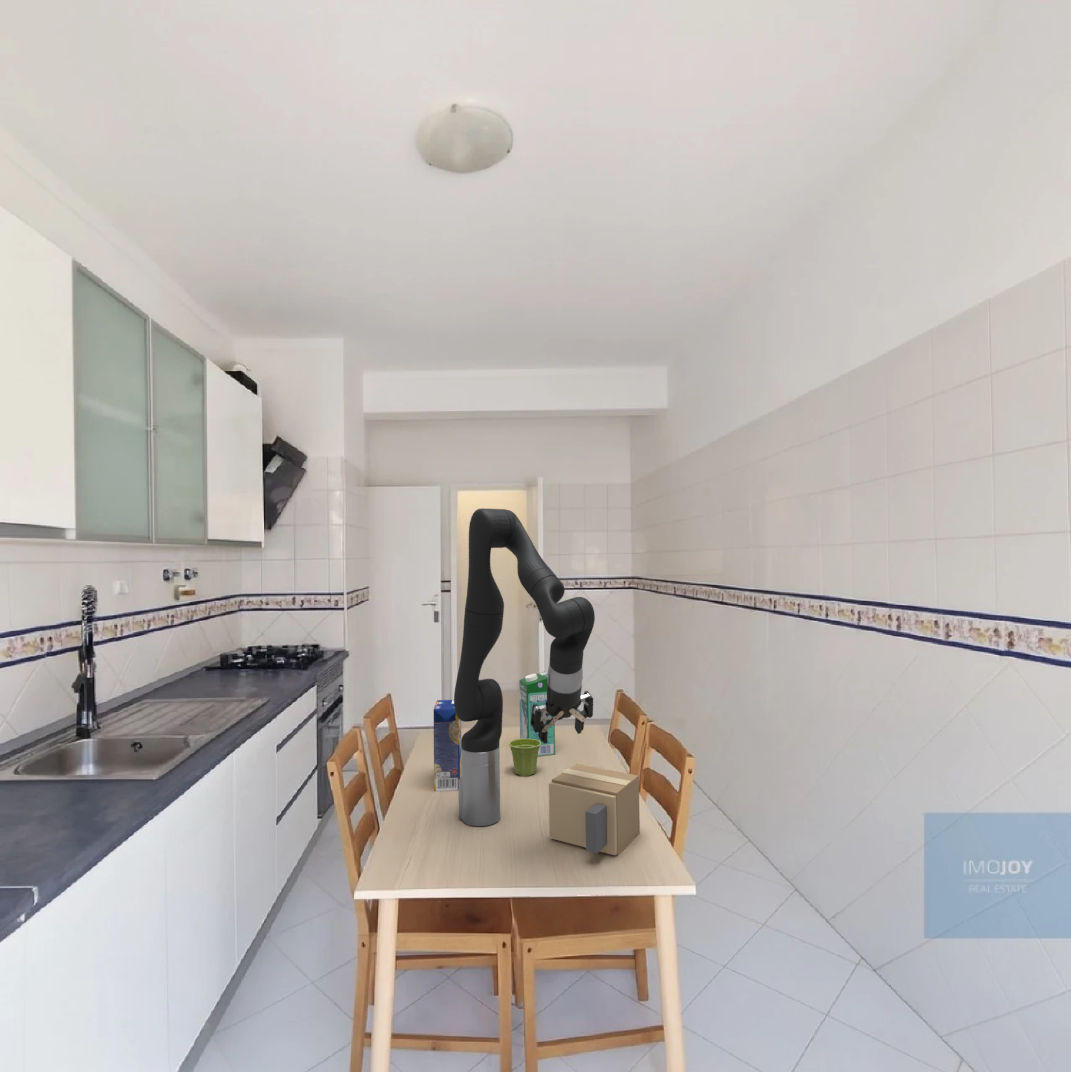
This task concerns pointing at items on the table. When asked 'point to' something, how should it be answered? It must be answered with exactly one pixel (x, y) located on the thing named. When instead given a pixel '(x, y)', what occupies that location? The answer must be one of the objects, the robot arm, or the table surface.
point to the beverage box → (446, 747)
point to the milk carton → (530, 694)
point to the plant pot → (525, 755)
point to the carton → (610, 784)
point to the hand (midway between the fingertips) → (560, 735)
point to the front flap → (583, 818)
